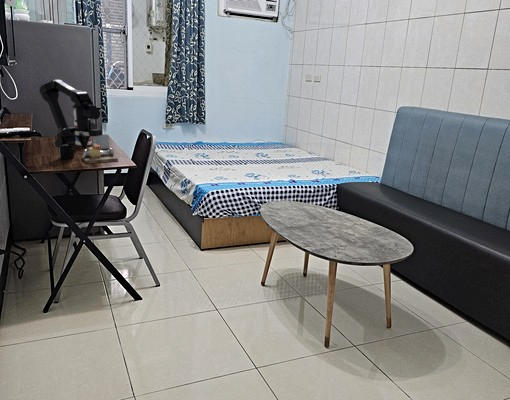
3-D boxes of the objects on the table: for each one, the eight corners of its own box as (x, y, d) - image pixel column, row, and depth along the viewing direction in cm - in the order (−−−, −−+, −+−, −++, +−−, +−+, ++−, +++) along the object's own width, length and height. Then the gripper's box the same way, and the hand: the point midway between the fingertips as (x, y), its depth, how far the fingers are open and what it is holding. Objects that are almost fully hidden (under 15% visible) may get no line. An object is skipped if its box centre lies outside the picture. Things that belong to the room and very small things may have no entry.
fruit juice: (94, 143, 276) (91, 97, 268) (88, 146, 267) (84, 99, 259) (80, 142, 277) (76, 97, 268) (73, 145, 268) (68, 98, 259)
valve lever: (91, 146, 231) (90, 142, 231) (96, 145, 233) (96, 142, 232) (95, 150, 222) (95, 146, 222) (100, 149, 223) (100, 146, 223)
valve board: (86, 163, 223) (85, 150, 221) (81, 158, 234) (80, 145, 232) (118, 161, 231) (117, 148, 229) (112, 156, 242) (111, 143, 240)
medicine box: (105, 147, 266) (104, 133, 263) (109, 148, 263) (108, 133, 260) (93, 148, 260) (92, 134, 257) (97, 150, 257) (96, 135, 254)
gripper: (108, 117, 224) (110, 147, 229) (77, 114, 230) (80, 144, 234) (94, 119, 214) (96, 151, 219) (62, 117, 220) (65, 147, 224)
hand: (84, 148), depth 224 cm, fingers closed
